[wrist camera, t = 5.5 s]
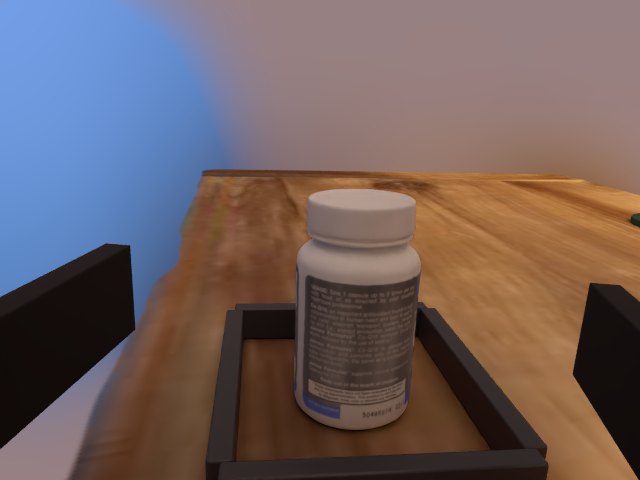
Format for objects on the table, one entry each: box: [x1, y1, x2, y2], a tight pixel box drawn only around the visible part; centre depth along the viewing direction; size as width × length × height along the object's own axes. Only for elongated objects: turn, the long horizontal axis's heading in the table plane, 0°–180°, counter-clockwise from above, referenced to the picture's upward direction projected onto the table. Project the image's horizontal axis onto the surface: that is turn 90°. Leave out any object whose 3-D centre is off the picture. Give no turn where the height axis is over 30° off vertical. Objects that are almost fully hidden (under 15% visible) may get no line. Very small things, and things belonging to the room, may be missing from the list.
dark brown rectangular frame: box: [206, 302, 549, 480], centre depth 21 cm, size 13×11×2 cm
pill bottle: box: [294, 189, 421, 430], centre depth 20 cm, size 5×5×8 cm
